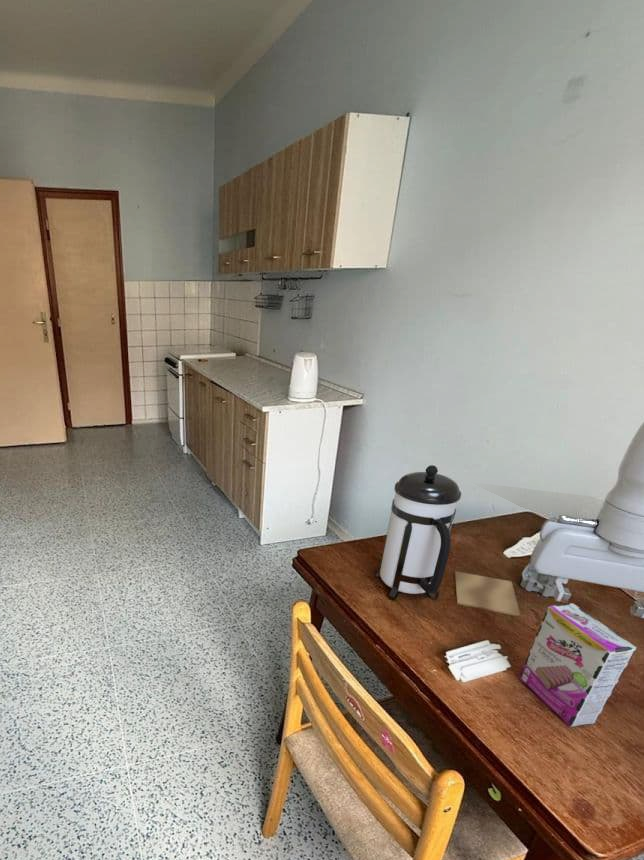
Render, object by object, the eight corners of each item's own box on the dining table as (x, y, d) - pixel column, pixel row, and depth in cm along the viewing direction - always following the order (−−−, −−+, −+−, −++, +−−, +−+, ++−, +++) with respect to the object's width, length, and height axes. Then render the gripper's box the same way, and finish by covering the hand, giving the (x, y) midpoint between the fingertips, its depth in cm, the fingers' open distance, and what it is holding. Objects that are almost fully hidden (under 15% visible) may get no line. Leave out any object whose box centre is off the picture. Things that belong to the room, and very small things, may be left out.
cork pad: (511, 583, 111) (511, 581, 111) (519, 617, 100) (520, 615, 100) (454, 572, 116) (455, 571, 116) (456, 604, 105) (457, 602, 104)
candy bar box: (515, 678, 85) (546, 605, 77) (540, 675, 85) (572, 601, 78) (569, 729, 75) (609, 651, 67) (596, 725, 76) (639, 646, 68)
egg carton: (553, 600, 105) (559, 585, 103) (515, 587, 110) (520, 572, 108) (564, 581, 112) (570, 566, 110) (528, 569, 116) (533, 555, 114)
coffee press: (356, 587, 111) (377, 466, 97) (391, 563, 120) (415, 449, 106) (429, 621, 100) (465, 490, 85) (461, 591, 109) (499, 468, 95)
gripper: (551, 522, 66) (520, 602, 72) (748, 550, 58) (693, 637, 65) (543, 504, 71) (514, 581, 77) (723, 529, 63) (674, 611, 70)
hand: (597, 607), depth 71 cm, fingers open, 8 cm apart
